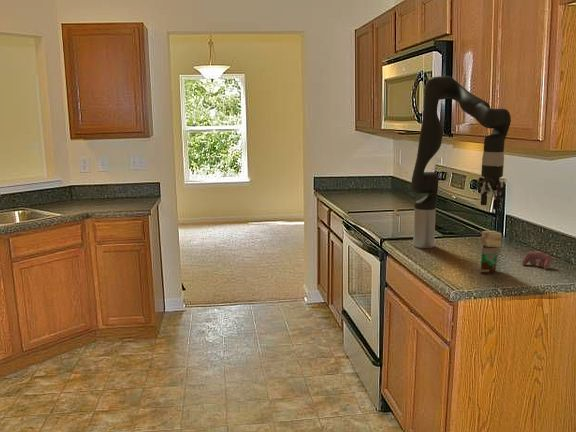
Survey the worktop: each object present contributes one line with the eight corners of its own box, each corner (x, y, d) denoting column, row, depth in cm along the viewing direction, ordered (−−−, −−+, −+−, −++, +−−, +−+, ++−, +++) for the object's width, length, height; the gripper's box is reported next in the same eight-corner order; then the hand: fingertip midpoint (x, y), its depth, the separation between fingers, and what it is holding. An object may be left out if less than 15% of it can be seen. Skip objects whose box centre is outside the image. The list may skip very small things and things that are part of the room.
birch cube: (481, 244, 211) (482, 231, 210) (493, 243, 212) (494, 230, 211) (488, 247, 206) (489, 234, 206) (500, 246, 207) (501, 233, 206)
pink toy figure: (550, 272, 214) (554, 255, 215) (546, 269, 211) (550, 251, 212) (524, 267, 221) (528, 250, 222) (520, 264, 218) (524, 247, 219)
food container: (498, 276, 204) (499, 249, 203) (480, 274, 207) (481, 248, 205) (498, 267, 216) (500, 242, 214) (482, 266, 218) (483, 241, 216)
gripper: (473, 162, 211) (470, 204, 214) (494, 166, 197) (491, 211, 201) (491, 161, 212) (488, 203, 216) (513, 165, 199) (509, 210, 202)
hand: (489, 207), depth 208 cm, fingers open, 8 cm apart
